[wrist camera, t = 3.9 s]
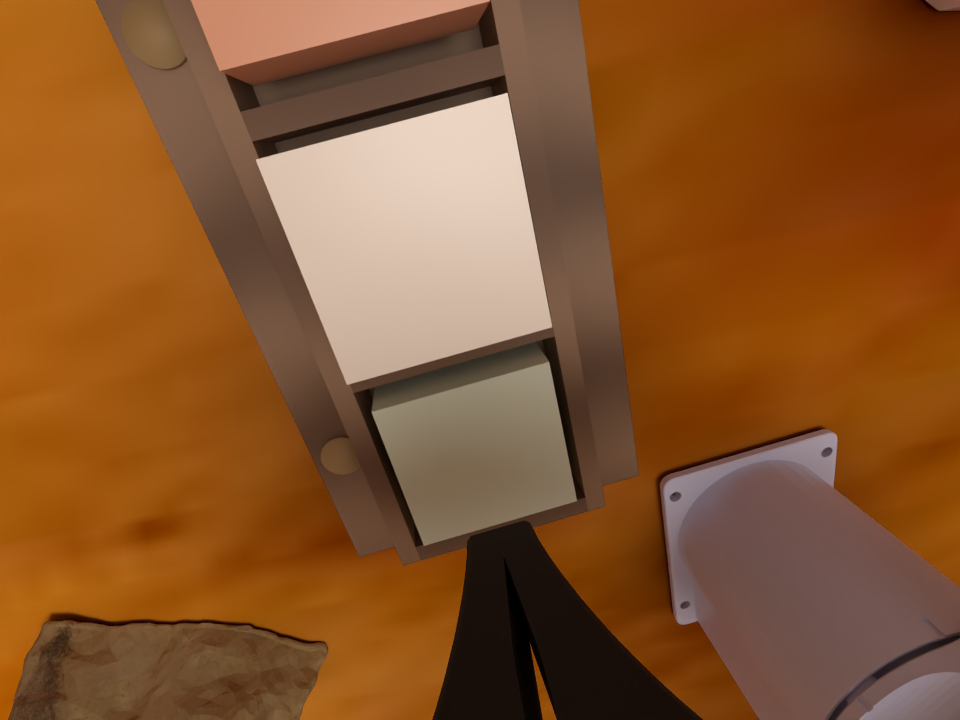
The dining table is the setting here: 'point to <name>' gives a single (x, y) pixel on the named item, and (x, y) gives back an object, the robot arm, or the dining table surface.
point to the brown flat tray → (363, 106)
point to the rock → (165, 673)
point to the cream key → (414, 237)
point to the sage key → (476, 442)
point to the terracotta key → (321, 31)
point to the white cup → (945, 5)
